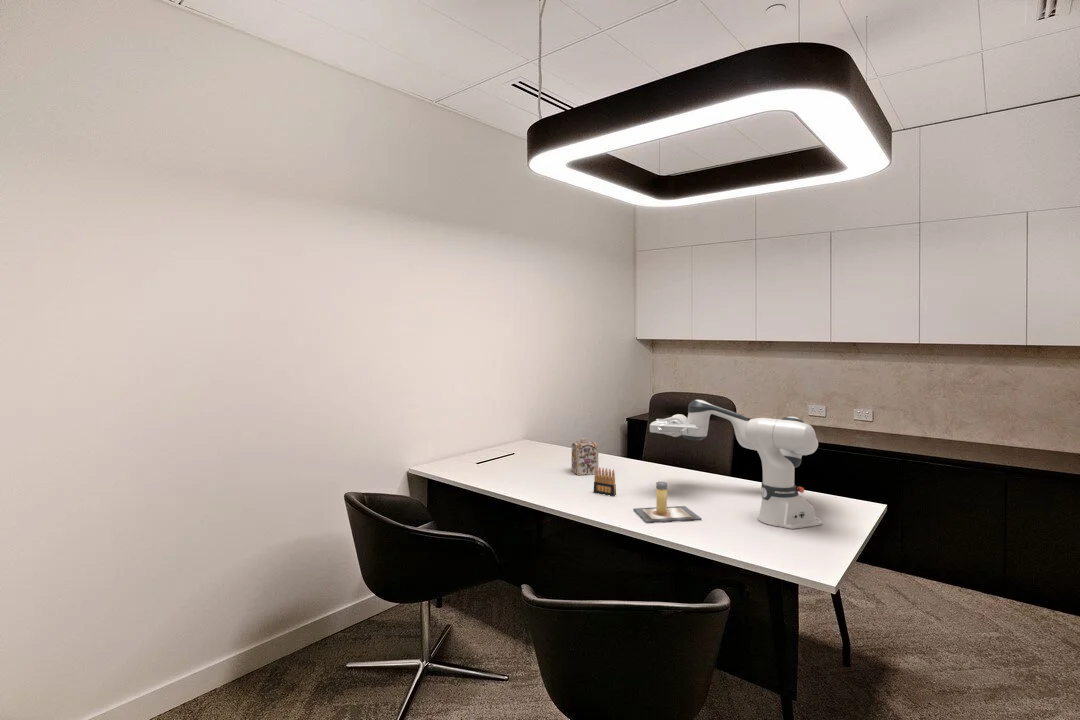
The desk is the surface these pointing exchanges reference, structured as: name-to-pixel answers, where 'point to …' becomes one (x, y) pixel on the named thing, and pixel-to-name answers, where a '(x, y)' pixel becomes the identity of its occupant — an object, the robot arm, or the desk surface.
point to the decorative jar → (584, 457)
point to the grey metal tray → (672, 514)
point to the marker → (661, 498)
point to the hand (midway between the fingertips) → (670, 431)
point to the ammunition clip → (604, 482)
